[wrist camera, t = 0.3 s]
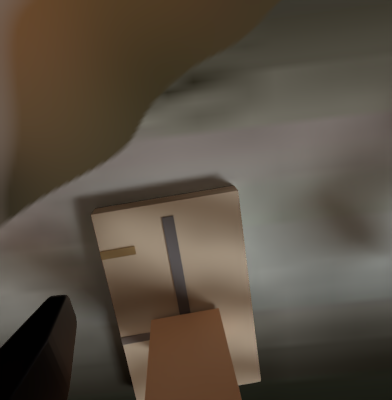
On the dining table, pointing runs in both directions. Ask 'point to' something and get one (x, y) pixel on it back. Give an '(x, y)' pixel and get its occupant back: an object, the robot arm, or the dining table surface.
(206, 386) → the fader tab
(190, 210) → the fader console
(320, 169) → the dining table surface
